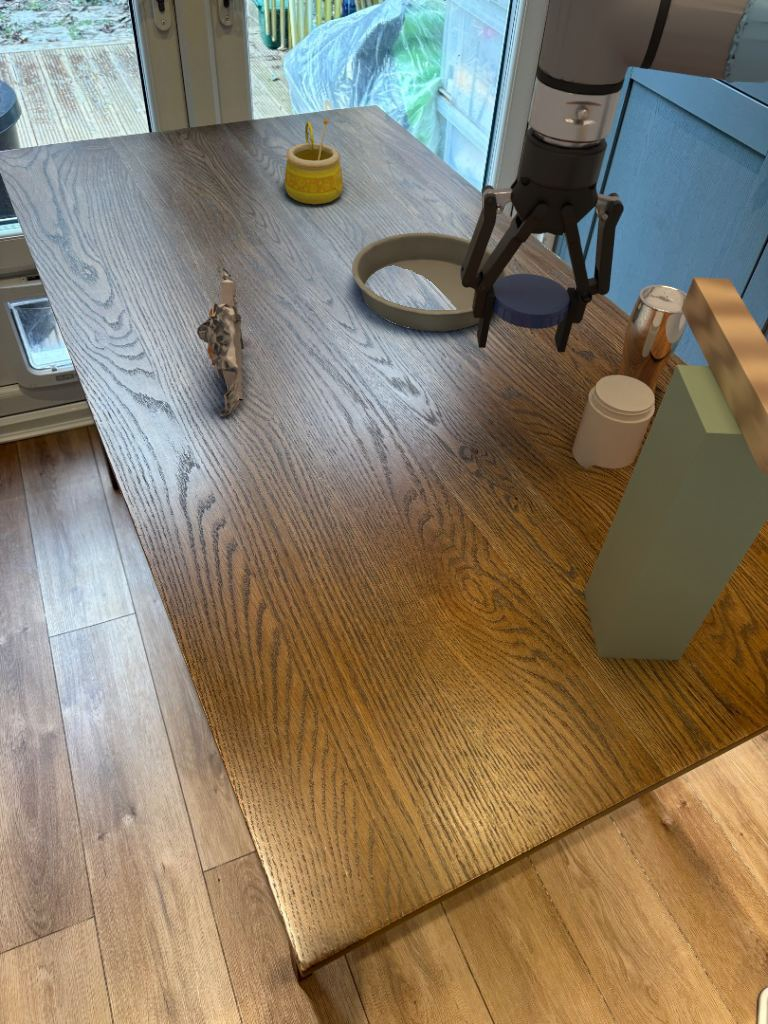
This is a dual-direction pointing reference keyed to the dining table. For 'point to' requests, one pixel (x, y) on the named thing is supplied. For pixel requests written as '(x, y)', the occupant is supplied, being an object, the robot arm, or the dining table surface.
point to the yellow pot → (313, 171)
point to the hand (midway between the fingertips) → (520, 343)
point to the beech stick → (733, 356)
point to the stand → (677, 525)
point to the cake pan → (427, 258)
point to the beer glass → (653, 333)
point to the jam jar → (613, 422)
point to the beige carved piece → (225, 341)
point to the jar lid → (530, 301)
